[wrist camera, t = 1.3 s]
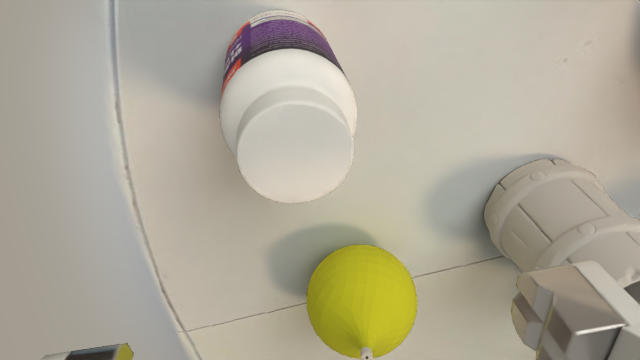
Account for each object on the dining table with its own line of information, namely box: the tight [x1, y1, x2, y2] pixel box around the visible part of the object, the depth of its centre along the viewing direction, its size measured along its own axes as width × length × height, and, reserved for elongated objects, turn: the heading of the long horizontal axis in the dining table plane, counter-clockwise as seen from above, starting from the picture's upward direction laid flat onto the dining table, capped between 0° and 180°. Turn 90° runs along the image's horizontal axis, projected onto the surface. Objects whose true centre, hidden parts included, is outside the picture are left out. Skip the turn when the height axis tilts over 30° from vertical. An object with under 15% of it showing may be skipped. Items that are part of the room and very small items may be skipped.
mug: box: [484, 159, 640, 305], centre depth 27 cm, size 8×12×12 cm, turn 31°
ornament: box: [307, 245, 417, 360], centre depth 27 cm, size 7×7×10 cm
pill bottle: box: [219, 10, 357, 203], centre depth 19 cm, size 5×5×10 cm
